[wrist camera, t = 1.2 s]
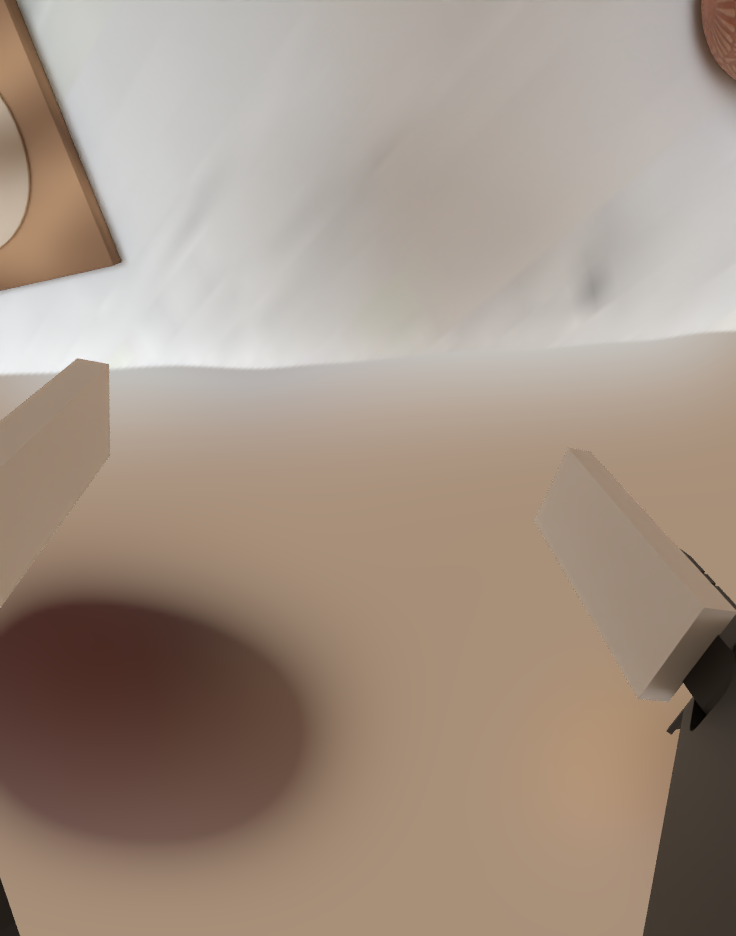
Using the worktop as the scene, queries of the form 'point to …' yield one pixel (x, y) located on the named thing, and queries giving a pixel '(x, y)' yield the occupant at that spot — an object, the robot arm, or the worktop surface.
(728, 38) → the planter
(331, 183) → the worktop surface
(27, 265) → the board
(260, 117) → the worktop surface
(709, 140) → the worktop surface
